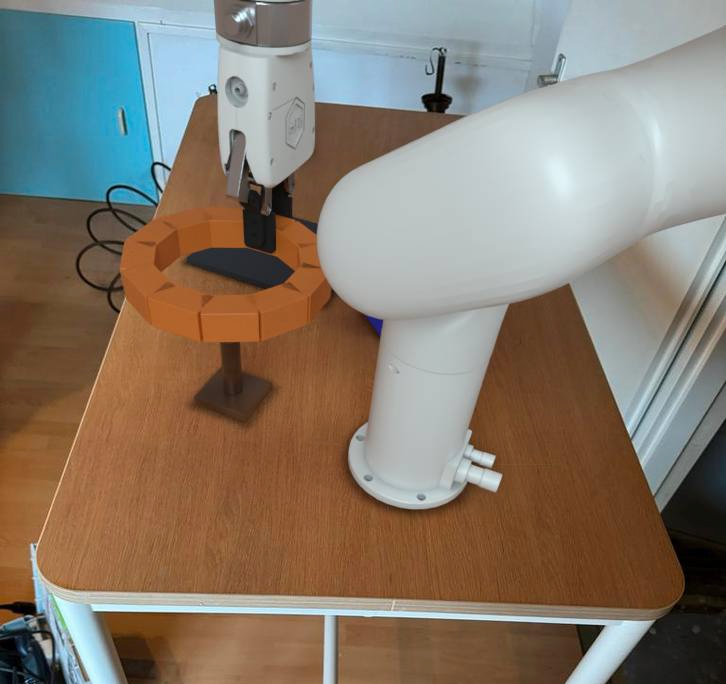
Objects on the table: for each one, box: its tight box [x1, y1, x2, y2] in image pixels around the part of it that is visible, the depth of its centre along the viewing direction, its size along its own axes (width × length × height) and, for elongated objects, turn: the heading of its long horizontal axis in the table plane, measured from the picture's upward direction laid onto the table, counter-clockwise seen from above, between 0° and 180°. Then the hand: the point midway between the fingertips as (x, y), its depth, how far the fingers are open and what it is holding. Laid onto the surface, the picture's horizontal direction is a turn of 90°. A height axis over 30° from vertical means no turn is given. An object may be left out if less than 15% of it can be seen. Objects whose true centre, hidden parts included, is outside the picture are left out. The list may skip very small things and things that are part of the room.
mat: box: [185, 215, 336, 298], centre depth 89 cm, size 20×18×1 cm
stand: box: [193, 342, 272, 424], centre depth 67 cm, size 6×6×8 cm
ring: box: [119, 206, 332, 344], centre depth 58 cm, size 18×18×3 cm
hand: (268, 239), depth 64 cm, fingers closed on ring, 2 cm apart
